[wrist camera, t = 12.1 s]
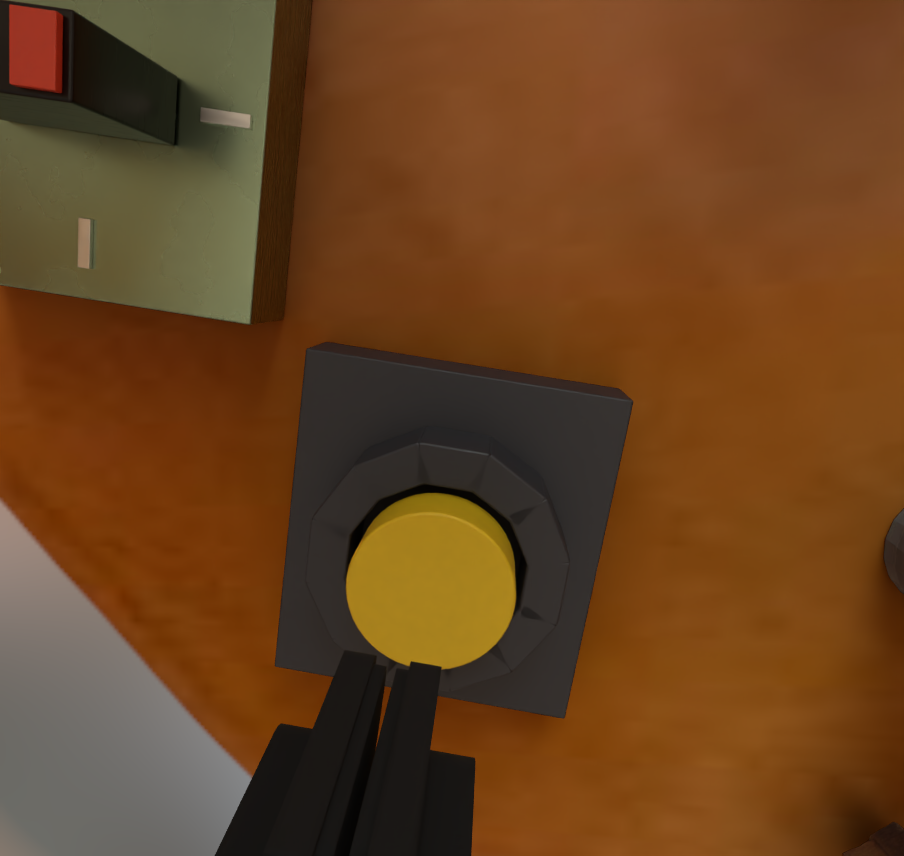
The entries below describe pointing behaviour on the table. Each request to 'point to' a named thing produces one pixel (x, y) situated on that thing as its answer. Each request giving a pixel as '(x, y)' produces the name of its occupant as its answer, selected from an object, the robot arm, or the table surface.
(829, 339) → the table surface
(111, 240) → the dial panel
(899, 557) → the beverage cup
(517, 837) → the table surface
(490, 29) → the table surface
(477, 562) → the button
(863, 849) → the wooden carving
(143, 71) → the black upright block
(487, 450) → the button box
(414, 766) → the robot arm
